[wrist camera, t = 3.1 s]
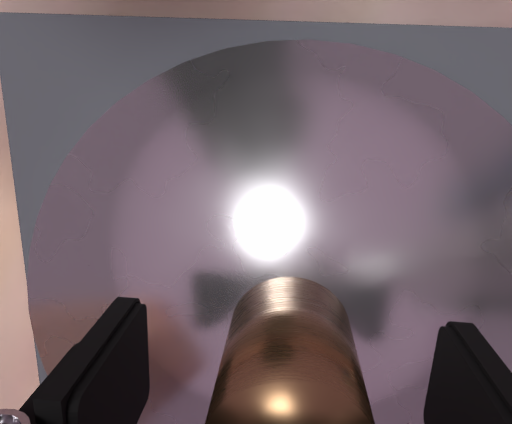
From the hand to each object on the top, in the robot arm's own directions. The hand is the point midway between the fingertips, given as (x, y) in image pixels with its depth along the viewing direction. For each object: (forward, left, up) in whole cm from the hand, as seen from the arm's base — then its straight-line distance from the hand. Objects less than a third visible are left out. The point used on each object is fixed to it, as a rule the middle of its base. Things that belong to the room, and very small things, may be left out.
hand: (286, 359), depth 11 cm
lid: (0, 0, -2) cm, 2 cm away
